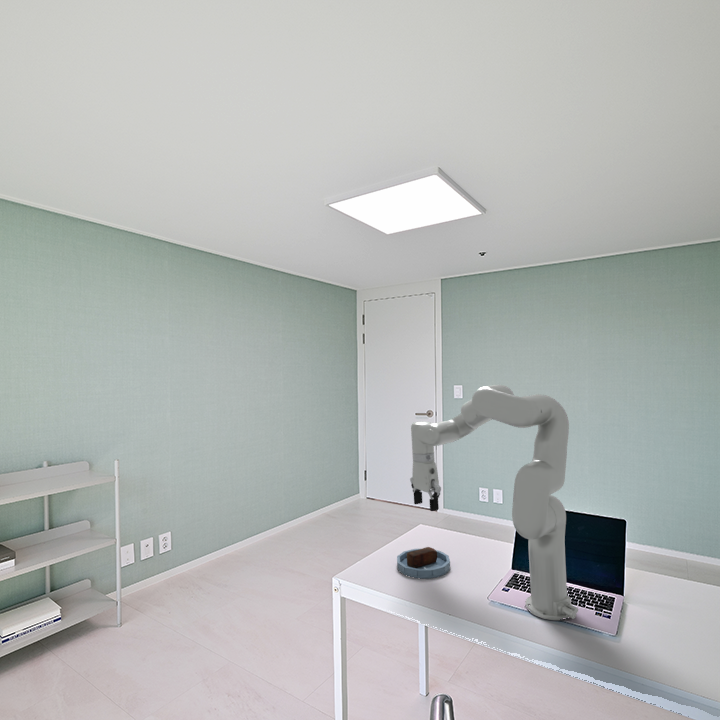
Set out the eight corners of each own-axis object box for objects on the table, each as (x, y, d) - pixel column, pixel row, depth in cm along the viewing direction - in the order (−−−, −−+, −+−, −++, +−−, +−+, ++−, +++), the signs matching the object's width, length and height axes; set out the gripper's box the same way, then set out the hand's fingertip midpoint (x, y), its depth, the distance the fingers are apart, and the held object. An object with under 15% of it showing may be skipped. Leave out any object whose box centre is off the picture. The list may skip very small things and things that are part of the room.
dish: (460, 570, 155) (460, 562, 155) (415, 583, 148) (414, 574, 148) (430, 552, 172) (430, 545, 172) (388, 563, 164) (387, 555, 164)
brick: (414, 570, 155) (413, 556, 155) (406, 566, 159) (406, 552, 159) (438, 562, 161) (437, 548, 161) (430, 558, 164) (430, 545, 164)
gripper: (447, 459, 155) (450, 511, 154) (418, 452, 170) (421, 499, 170) (428, 462, 151) (431, 515, 151) (401, 455, 167) (403, 503, 166)
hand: (426, 506), depth 160 cm, fingers open, 9 cm apart
